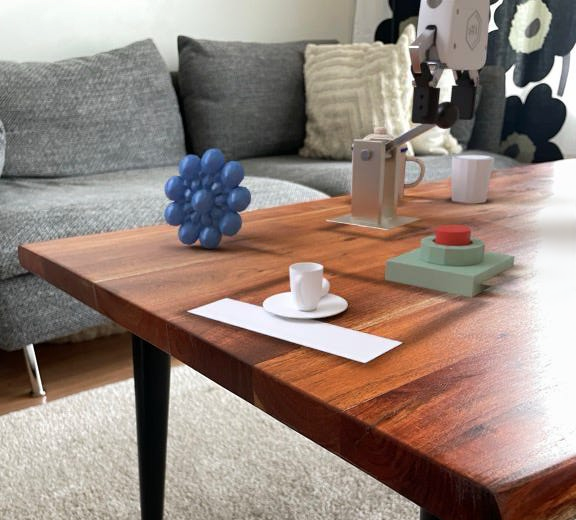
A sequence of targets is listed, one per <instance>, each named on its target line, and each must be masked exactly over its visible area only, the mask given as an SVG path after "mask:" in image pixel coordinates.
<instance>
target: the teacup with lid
mask: <svg viewBox="0 0 576 520" xmlns="http://www.w3.org/2000/svg"><path fill="white" fill-rule="evenodd" d="M387 131H388V129H387V127H385V126H375V127H374V128H373V133H370V134H368V135H366V136H365V137H364V138H362V140H370V137H383V138H396V137H395V136H394V135H392V134H389V133H387ZM350 150H351V151H352V152H351V153H352V155H351V171H352V170H353V143H352V145H351V147H350ZM407 151H409V147H408V144H407V142H406V143H404V144H402V145H401V152H400V169H399V186H398V199H401V198H403V197H405V196H404V195H405V190H406V189H407V190H409V189H413V188H415V187H417V186H419V184H421V182H422V181H423V179H424V177H425V173H426V165H425V163H424V161H423V160H422V159H421V158H419V157H417V156H412V155H411V156H409V155H407ZM407 162H415V163H417V164H418V165H419V167H420V173H419V176H418V178H417V179H416V180H415V181H413V182H411V183H405V180H406V165H407ZM350 182H351V183H350V196H351V197H352V178H351V181H350Z"/></svg>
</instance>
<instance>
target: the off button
mask: <svg viewBox="0 0 576 520" xmlns="http://www.w3.org/2000/svg"><path fill="white" fill-rule="evenodd" d="M435 235H436V237H435V243H436V244H439V245H446V246H467V245H470V238H471V237H472V228H471V227H468V226H466V225H460V224H442V225H438V226H436V228H435Z"/></svg>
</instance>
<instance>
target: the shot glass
mask: <svg viewBox="0 0 576 520" xmlns="http://www.w3.org/2000/svg"><path fill="white" fill-rule="evenodd" d="M494 162H495V157H494V156H491V155H485V154H456V155H452V156H451V201H452V202H456V203H457V202H458V203H465V204H467V203H468V204H481V203H482V204H484V203H486V202H487V197H488V193H489V187H490V183H491V177H492V172H493V167H494Z"/></svg>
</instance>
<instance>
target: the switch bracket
mask: <svg viewBox="0 0 576 520" xmlns="http://www.w3.org/2000/svg"><path fill="white" fill-rule="evenodd" d="M395 138H396V137H395ZM395 138H383V137H370V140H362V139H363V138H362V139H360V138H356V139H353V143H352V144H353V170H352V169H351V179H352V196H351V201H350V203H351V204H350V213H346V214H343V215H338V216H336V217H332V218H329V219H326V220H325V221H326V222H333V223H339V224H345V225H350V226H358V227H365V228H369V229H370V228H372V229H378V230H385V231H390V230H393V229H396V228H398V227H402V226H405V225H408V224H411V223H414V222H417V221H421V220H422V218H419V217H412V216H406V215H405V216H404V215H398V201H399V200H398V199H399V198H398V186H399V169H400V152H401V145H400V146H399V147H397V148H395V149H393V150H391V151H390V152H391V155H392V157H391V158H389V159H387V160H385V144H386V141H387V142H389V141H391V140H393V139H395ZM381 140H386V141H381Z"/></svg>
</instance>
